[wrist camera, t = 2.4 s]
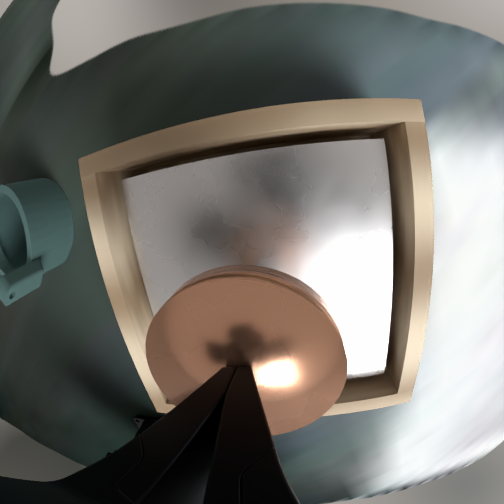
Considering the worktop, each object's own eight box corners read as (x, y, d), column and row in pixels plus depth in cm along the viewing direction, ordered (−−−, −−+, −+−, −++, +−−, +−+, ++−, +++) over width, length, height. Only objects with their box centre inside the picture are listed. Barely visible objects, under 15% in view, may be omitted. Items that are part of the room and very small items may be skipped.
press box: (385, 344, 19) (409, 401, 13) (186, 358, 22) (157, 412, 16) (378, 121, 15) (420, 99, 9) (138, 158, 18) (78, 159, 12)
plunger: (380, 363, 15) (411, 458, 8) (183, 375, 17) (139, 459, 10) (377, 140, 12) (460, 118, 5) (130, 178, 14) (26, 196, 7)
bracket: (16, 185, 20) (-53, 202, 11) (72, 169, 19) (-17, 183, 10) (30, 270, 22) (-31, 305, 14) (87, 275, 21) (14, 323, 13)
